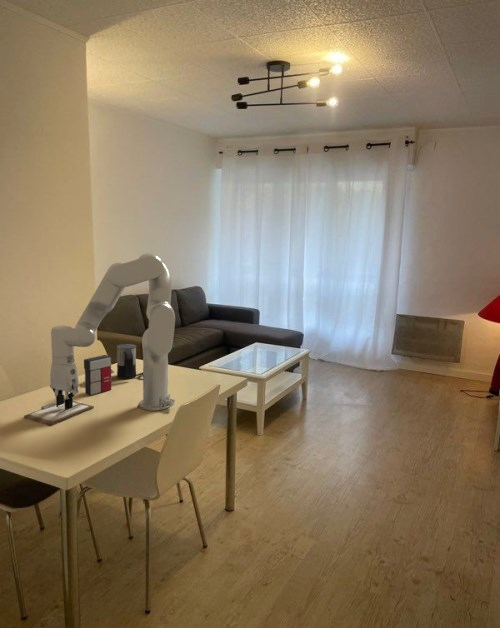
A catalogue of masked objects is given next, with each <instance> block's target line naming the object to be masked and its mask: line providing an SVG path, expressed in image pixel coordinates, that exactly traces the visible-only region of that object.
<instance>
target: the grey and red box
mask: <svg viewBox="0 0 500 628" xmlns="http://www.w3.org/2000/svg"><path fill="white" fill-rule="evenodd" d="M83 369H84V385H85V388H84V389H85V391H84V392H85V395H87V396H94V395H98V394H100V393H104V392H108V391H111V390H112V374H111V369H112V356H111V355H108V354H104V355H99V356H98V355H97V356H94V357H90V358H89V357H88V358H85V359H83Z"/></svg>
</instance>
